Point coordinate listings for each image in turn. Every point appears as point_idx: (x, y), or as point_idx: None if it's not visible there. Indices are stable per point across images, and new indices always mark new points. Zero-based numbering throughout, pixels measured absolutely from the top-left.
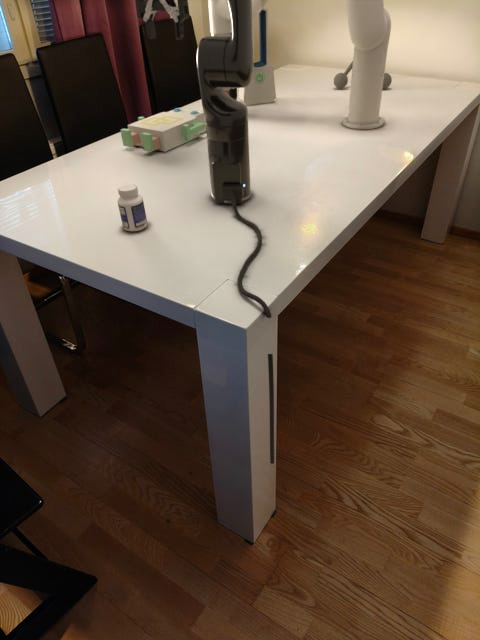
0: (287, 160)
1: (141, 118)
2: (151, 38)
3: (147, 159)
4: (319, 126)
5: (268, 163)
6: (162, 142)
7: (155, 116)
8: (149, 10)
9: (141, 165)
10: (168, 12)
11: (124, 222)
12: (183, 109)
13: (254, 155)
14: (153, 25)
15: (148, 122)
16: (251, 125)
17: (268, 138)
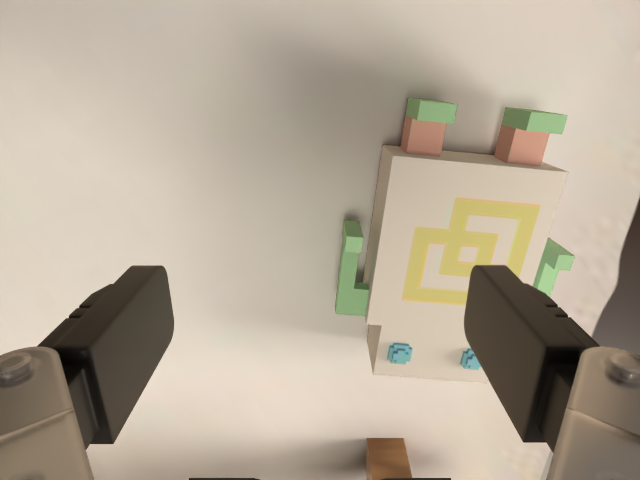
0: (19, 225)
1: (557, 256)
2: (474, 271)
3: (401, 65)
4: (115, 455)
5: (47, 186)
6: (393, 149)
7: None
8: (556, 443)
9: (387, 7)
10: (53, 417)
11: None
12: (460, 374)
13: (122, 225)
14: (507, 389)
15: (504, 224)
16: (278, 413)
17: (174, 347)
